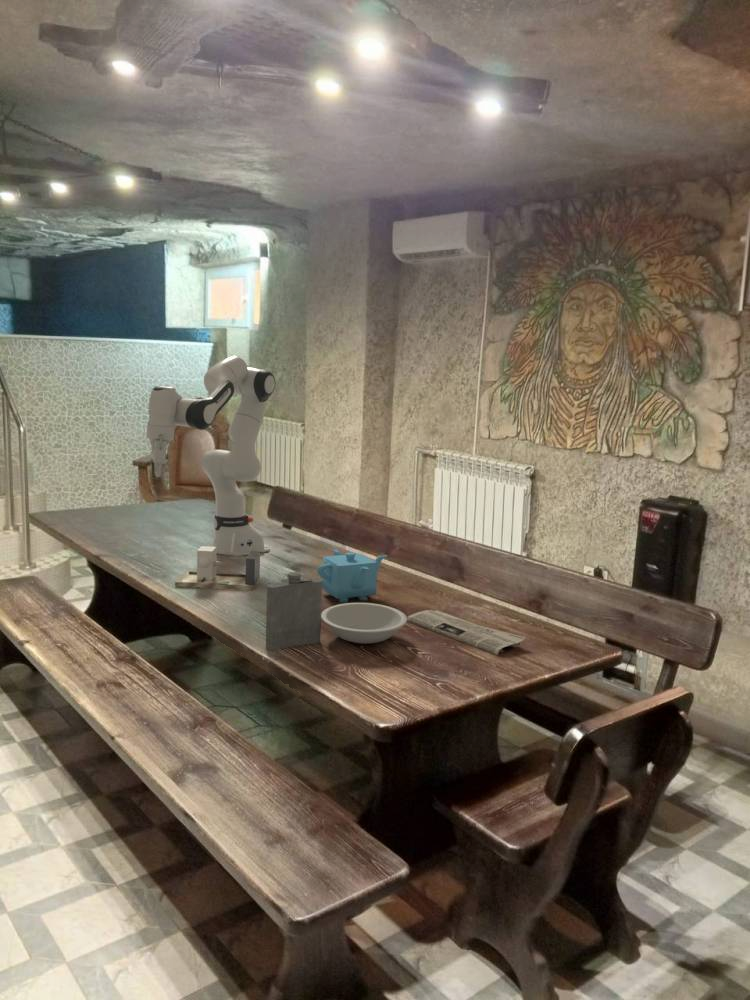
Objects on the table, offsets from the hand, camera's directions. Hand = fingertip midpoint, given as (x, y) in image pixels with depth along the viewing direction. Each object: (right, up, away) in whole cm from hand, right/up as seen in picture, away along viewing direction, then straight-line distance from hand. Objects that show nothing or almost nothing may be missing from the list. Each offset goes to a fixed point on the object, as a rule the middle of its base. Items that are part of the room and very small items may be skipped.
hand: (157, 475), depth 262 cm
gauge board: (+20, -36, +1) cm, 42 cm away
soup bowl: (+70, -47, -43) cm, 95 cm away
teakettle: (+65, -40, -6) cm, 77 cm away
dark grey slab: (+32, -35, 0) cm, 48 cm away
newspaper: (+99, -48, -35) cm, 115 cm away
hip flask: (+51, -48, -50) cm, 86 cm away
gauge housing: (+17, -35, -1) cm, 39 cm away
